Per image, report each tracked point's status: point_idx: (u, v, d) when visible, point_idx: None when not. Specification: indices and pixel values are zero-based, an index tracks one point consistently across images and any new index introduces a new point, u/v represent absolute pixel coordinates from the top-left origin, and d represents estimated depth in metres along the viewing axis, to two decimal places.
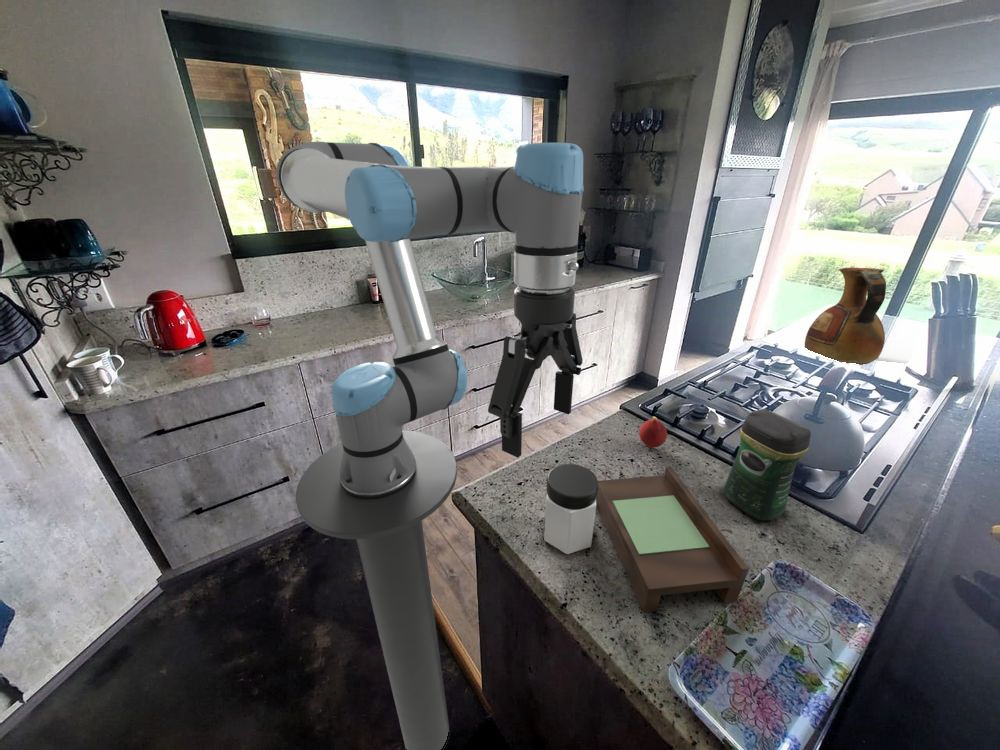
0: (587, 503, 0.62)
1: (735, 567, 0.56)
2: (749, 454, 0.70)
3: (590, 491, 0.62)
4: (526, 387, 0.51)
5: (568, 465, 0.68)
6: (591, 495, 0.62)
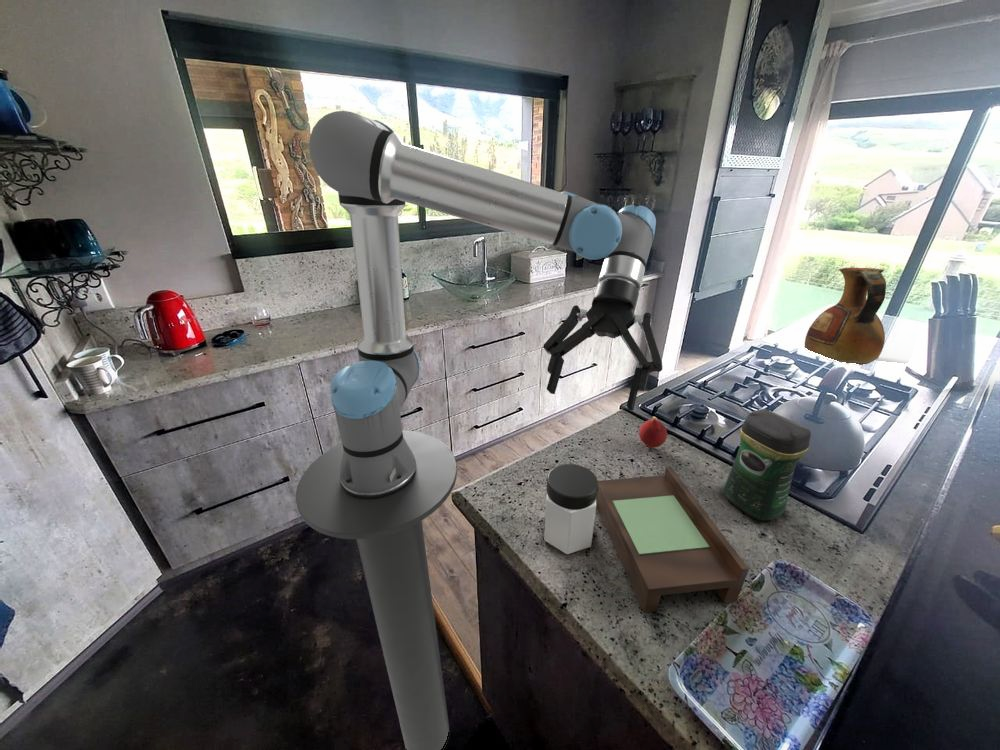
0: (587, 503, 0.62)
1: (735, 567, 0.56)
2: (749, 454, 0.70)
3: (590, 491, 0.62)
4: None
5: (568, 465, 0.68)
6: (591, 495, 0.62)
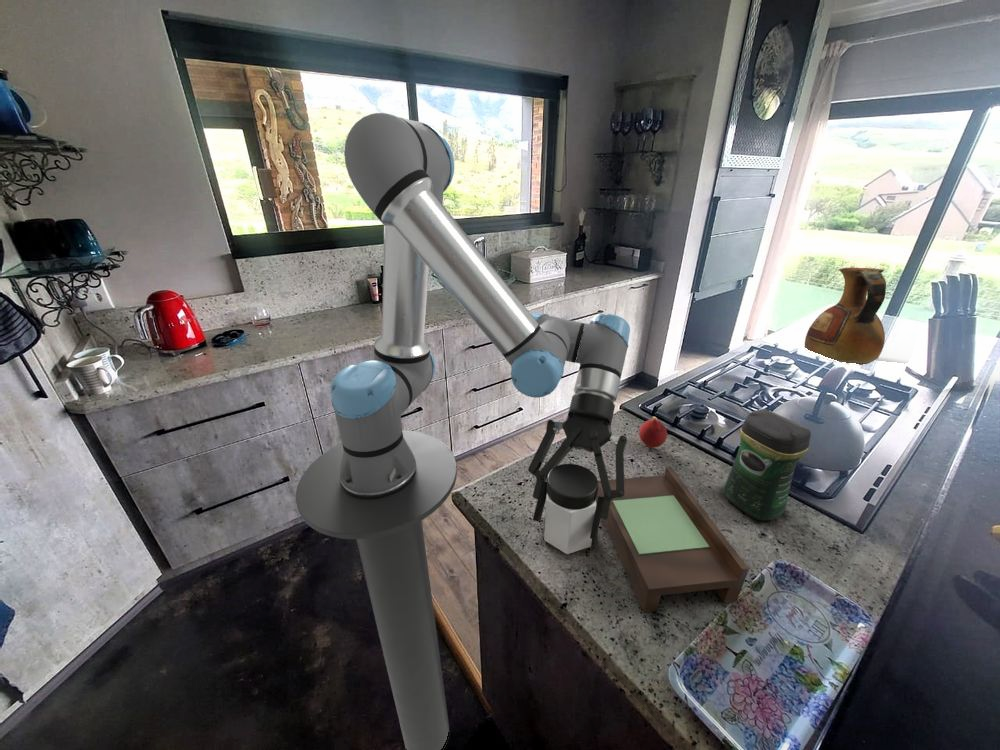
0: (587, 503, 0.62)
1: (735, 567, 0.56)
2: (749, 454, 0.70)
3: (590, 491, 0.62)
4: None
5: (568, 464, 0.68)
6: (591, 495, 0.62)
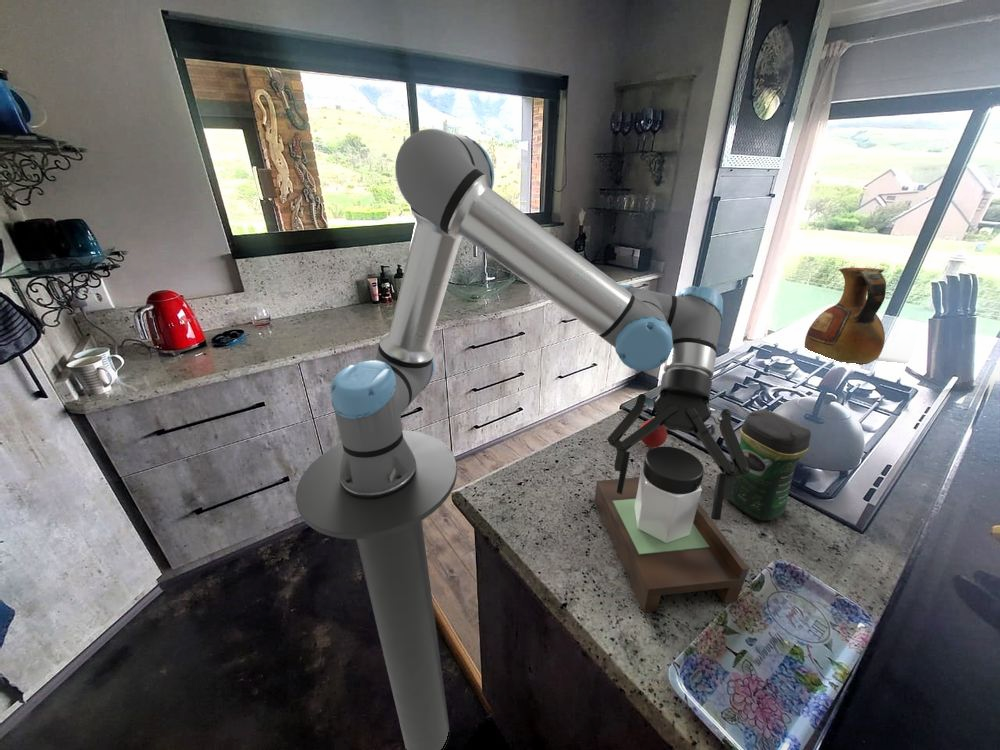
0: (694, 487, 0.57)
1: (735, 567, 0.56)
2: (749, 454, 0.70)
3: (697, 474, 0.57)
4: None
5: (664, 447, 0.63)
6: (699, 478, 0.57)
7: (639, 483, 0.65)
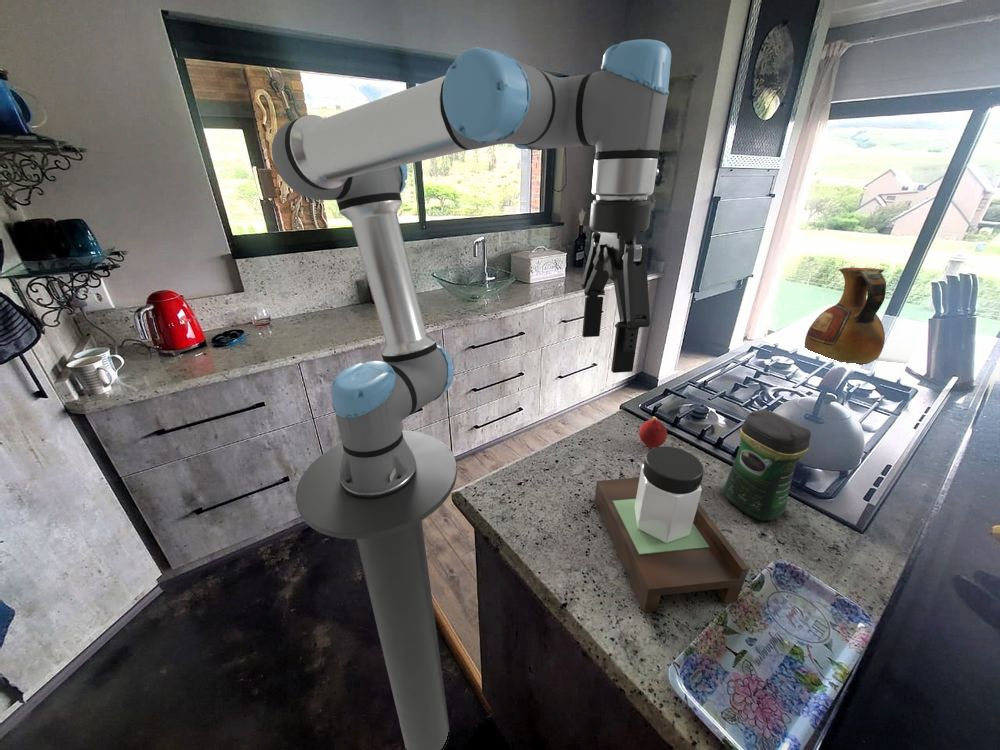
0: (694, 487, 0.57)
1: (735, 567, 0.56)
2: (749, 454, 0.70)
3: (697, 474, 0.57)
4: None
5: (664, 447, 0.63)
6: (699, 478, 0.57)
7: (639, 483, 0.65)
